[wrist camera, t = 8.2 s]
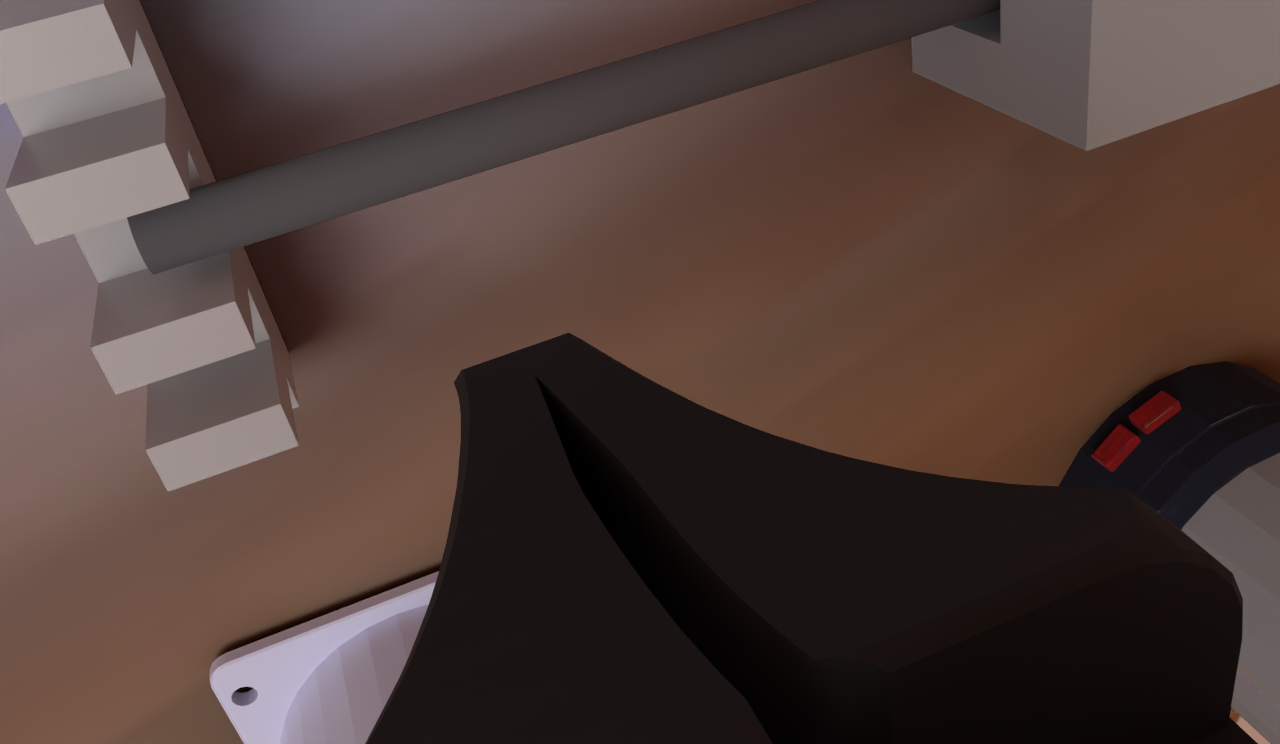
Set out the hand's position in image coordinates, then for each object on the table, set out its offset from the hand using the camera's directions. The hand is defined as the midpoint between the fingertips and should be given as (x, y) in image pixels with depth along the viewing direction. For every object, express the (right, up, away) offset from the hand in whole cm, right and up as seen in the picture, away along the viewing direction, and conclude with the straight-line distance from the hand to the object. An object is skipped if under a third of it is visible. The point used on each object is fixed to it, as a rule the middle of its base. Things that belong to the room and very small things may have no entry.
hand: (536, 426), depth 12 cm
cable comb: (-7, +4, +6) cm, 10 cm away
